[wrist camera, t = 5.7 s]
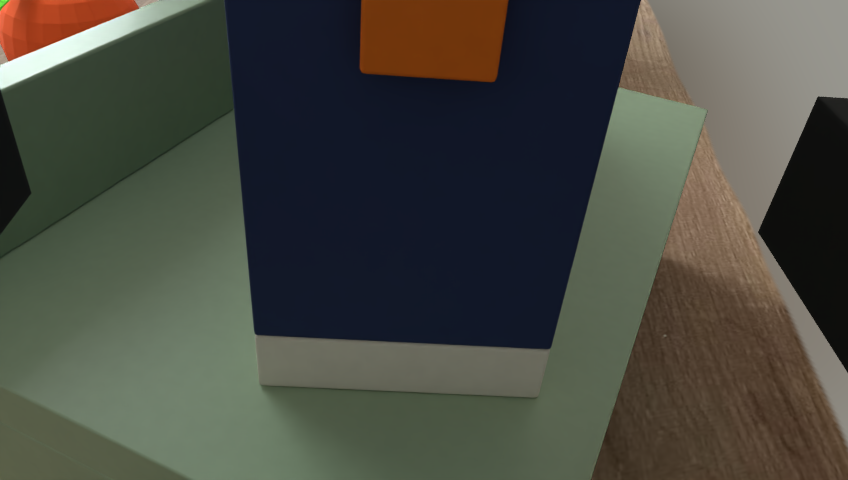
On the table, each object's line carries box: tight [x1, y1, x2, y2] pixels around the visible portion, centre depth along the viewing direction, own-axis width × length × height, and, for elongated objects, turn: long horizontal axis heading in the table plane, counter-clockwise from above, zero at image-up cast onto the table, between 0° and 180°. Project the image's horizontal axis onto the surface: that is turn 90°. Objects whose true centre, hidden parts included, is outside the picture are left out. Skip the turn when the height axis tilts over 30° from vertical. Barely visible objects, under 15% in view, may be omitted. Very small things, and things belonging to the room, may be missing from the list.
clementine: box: [0, 0, 139, 61], centre depth 37 cm, size 8×7×7 cm
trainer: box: [224, 0, 641, 398], centre depth 18 cm, size 16×6×10 cm, turn 0°
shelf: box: [0, 0, 708, 480], centre depth 23 cm, size 16×22×11 cm
